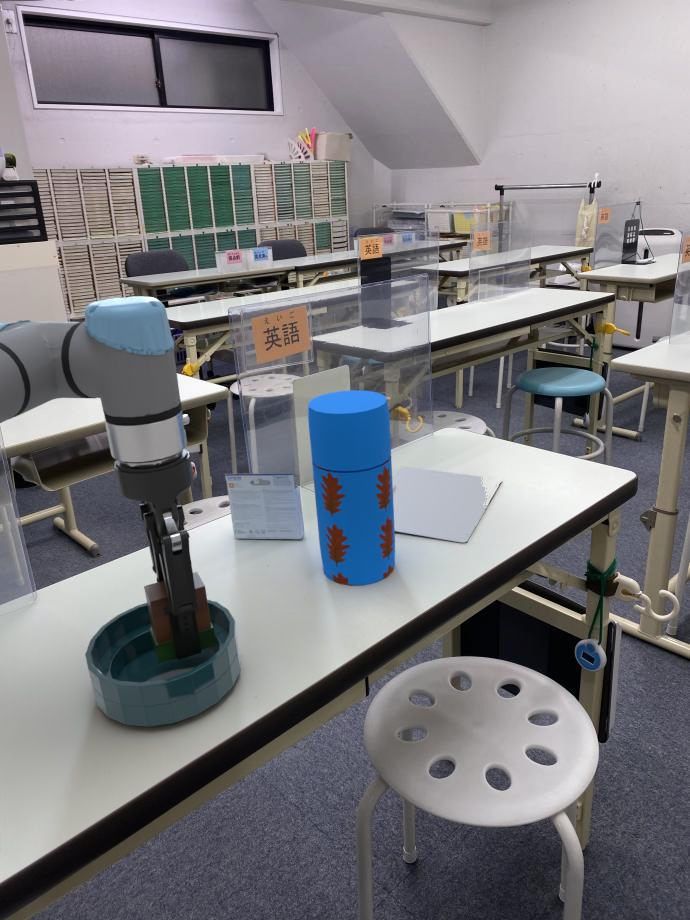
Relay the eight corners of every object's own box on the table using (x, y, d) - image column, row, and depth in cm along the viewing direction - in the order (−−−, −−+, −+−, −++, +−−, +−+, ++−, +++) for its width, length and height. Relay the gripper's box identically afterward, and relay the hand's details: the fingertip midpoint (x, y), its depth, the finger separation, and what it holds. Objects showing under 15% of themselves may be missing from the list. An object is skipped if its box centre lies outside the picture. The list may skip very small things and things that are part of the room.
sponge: (153, 646, 79) (141, 586, 76) (208, 629, 81) (199, 570, 78) (159, 663, 76) (147, 602, 73) (216, 645, 78) (207, 585, 75)
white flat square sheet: (383, 466, 134) (383, 461, 134) (503, 482, 125) (503, 476, 124) (327, 522, 113) (326, 516, 113) (465, 546, 104) (466, 540, 103)
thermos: (370, 593, 93) (360, 418, 83) (307, 574, 98) (290, 408, 89) (409, 557, 101) (402, 394, 92) (348, 541, 107) (336, 386, 97)
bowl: (89, 664, 82) (78, 622, 80) (218, 622, 89) (212, 583, 86) (108, 754, 69) (96, 706, 67) (260, 697, 75) (254, 652, 73)
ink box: (305, 533, 110) (299, 467, 106) (302, 541, 108) (295, 473, 104) (237, 532, 112) (228, 467, 108) (232, 539, 110) (223, 473, 106)
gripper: (209, 472, 64) (238, 675, 73) (169, 424, 78) (197, 599, 87) (127, 490, 61) (167, 699, 70) (101, 437, 75) (137, 617, 84)
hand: (184, 643), depth 78 cm, fingers closed on sponge, 4 cm apart
